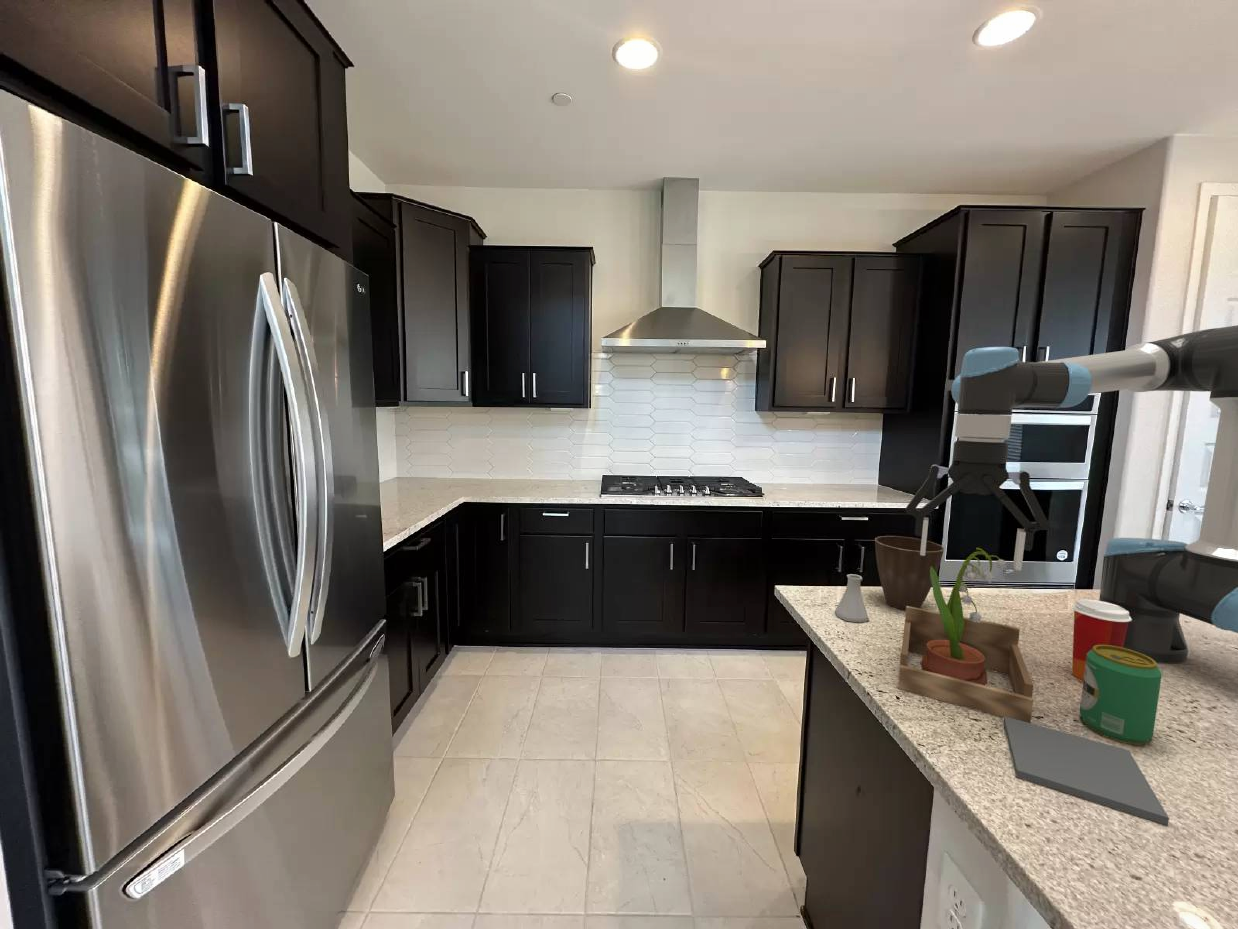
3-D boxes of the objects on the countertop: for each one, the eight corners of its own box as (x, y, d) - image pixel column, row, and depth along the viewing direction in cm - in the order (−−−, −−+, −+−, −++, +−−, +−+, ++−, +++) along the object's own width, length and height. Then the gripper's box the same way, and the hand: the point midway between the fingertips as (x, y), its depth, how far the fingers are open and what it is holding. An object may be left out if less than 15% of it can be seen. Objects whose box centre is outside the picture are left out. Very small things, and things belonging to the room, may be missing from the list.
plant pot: (881, 589, 135) (886, 532, 133) (945, 605, 124) (950, 544, 123) (861, 603, 124) (866, 542, 123) (929, 622, 114) (935, 555, 112)
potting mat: (1127, 756, 70) (1128, 750, 70) (1167, 825, 58) (1168, 818, 58) (1003, 722, 77) (1003, 716, 77) (1016, 777, 65) (1017, 770, 65)
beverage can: (1072, 707, 81) (1080, 638, 80) (1139, 724, 77) (1149, 651, 76) (1087, 734, 74) (1097, 659, 73) (1162, 754, 70) (1173, 674, 69)
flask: (829, 611, 119) (831, 571, 118) (857, 610, 120) (860, 571, 119) (845, 624, 112) (848, 581, 111) (875, 623, 113) (878, 581, 112)
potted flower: (975, 669, 93) (988, 540, 90) (1012, 699, 83) (1028, 556, 81) (909, 664, 94) (920, 537, 92) (937, 694, 84) (951, 552, 82)
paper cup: (1106, 672, 93) (1115, 601, 91) (1133, 694, 85) (1143, 617, 84) (1055, 665, 95) (1063, 595, 94) (1077, 685, 88) (1086, 610, 86)
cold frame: (1013, 674, 92) (1018, 627, 91) (1030, 724, 76) (1036, 670, 75) (902, 647, 101) (906, 605, 100) (897, 688, 86) (902, 639, 85)
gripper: (1072, 443, 81) (1056, 569, 83) (898, 435, 94) (888, 544, 96) (1084, 445, 74) (1067, 581, 77) (896, 437, 88) (886, 553, 90)
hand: (967, 561), depth 86 cm, fingers open, 13 cm apart
